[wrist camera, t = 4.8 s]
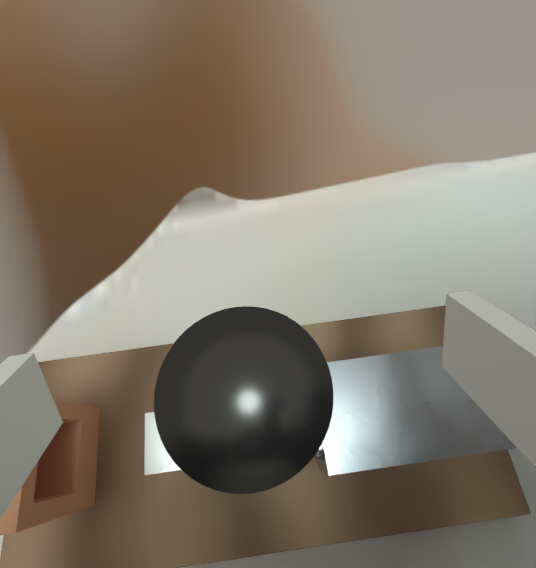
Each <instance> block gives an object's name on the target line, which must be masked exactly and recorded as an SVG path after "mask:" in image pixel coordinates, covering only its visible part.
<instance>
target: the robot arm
mask: <svg viewBox="0 0 536 568" xmlns="http://www.w3.org/2000/svg"><path fill="white" fill-rule="evenodd" d="M442 367H443V368H444V369H445V370H446V371H447V372H448V373H449V375H450V376H451V377H452V378H453V379H454V380H455V381H456V382H457V383H458V384H459V385H460V386H461V387H462V389H463V390H464V391H465V392H466V393H467V394H468V395H469V396H470V397H471V398H472V399H473V400H474V402H475V403H476V404H477V405H478V406H479V407H480V408H481V409H482V410H483V411H484V412H485V413H486V414H487V416H488V417H489V418H490V419H491V420H492V421H493V422H494V423H495V424H496V425H497V426H498V427H499V428H500V430H501V431H502V432H503V433H504V434H505V435H506V436H507V437H508V438H509V439H510V440H511V441H512V442H513V444H514V445H515V446H516V447H517V448H518V449H519V450H520V451H521V452H522V453H523V454H524V455H525V457H526V458H527V459H528V460H529V461H530V462H531V463H532V464H533V465H534V466H535V467H536V331H535V330H533V329H532V328H530V327H528V326H527V325H525V324H524V323H522V322H520V321H519V320H517V319H515V318H514V317H512V316H511V315H509V314H507V313H506V312H504V311H502V310H501V309H499V308H498V307H496V306H494V305H493V304H491V303H489V302H488V301H486V300H485V299H483V298H481V297H480V296H478V295H477V294H475V293H473V292H472V291H470V290H469V291H462V292H455V293H448V294H446V309H445V324H444V340H443V356H442ZM62 423H63V421H62V419H61V417H60V414H59V412H58V409H57V407H56V405H55V402H54V400H53V397H52V395H51V393H50V390H49V388H48V386H47V383H46V381H45V378H44V376H43V374H42V371H41V369H40V366H39V364H38V362H37V359H36V357H35V354H34V353H30V354H23V355H16V356H9V357H8V358H7V359H6V360H5V361H4V362H2V363H1V364H0V519H1V518H2V516H3V515H4V513H5V511H6V510H7V508H8V507H9V505H10V504H11V502H12V501H13V499H14V498H15V496H16V494H17V493H18V491H19V490H20V488H21V487H22V485H23V484H24V482H25V481H26V479H27V477H28V476H29V474H30V473H31V471H32V470H33V468H34V467H35V465H36V464H37V462H38V460H39V459H40V457H41V456H42V454H43V453H44V451H45V450H46V448H47V446H48V445H49V443H50V442H51V440H52V439H53V437H54V436H55V434H56V433H57V431H58V429H59V428H60V426H61V425H62Z"/></svg>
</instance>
